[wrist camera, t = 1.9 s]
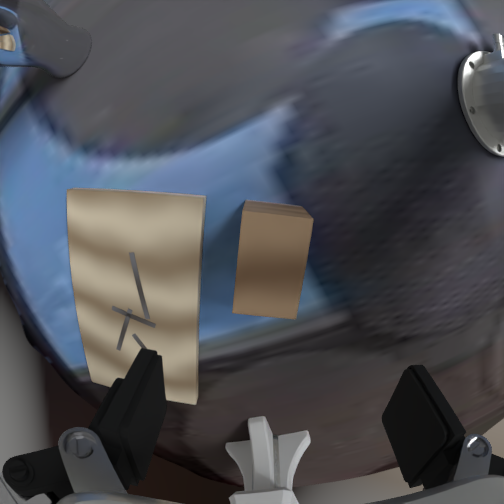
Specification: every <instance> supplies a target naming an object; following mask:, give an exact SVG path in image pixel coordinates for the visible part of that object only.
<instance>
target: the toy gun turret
mask: <svg viewBox="0 0 504 504" xmlns="http://www.w3.org/2000/svg"><path fill="white" fill-rule="evenodd" d="M248 429H249V435H250V440H247V441H239V442H230V443H226V446H225V448H226V450H227V452H228V453H229V455H230V456H231V457H232V458H233V459H234V460H235V462H236V463H237V464H238V466H239V468H240V471H241V473H242V475H243V479H244V487H245V491H239V492H236V493H234V494H233V495H232V496H231V497H229V500H230V503H231V504H299V503H298V501H297V499H296V497H295V495H294V493H293V492H292V482H293V476H294V473H295V470H296V467H297V465H298V463H299V460H300V458H301V456H302V455H303V453H304V451H305V450H306V448H307V447H308V446H309V444H310V442H311V441H310V436H309V432H308V431H307V430H305V431H300V432H296V433H290V434H285V435H280V436H277V435H273V434H272V432H271V429H270V427H269V425H268V422H267V420H266V417H264V416H260V417H254V418H249V419H248Z"/></svg>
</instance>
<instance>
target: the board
mask: <svg viewBox="0 0 504 504" xmlns="http://www.w3.org/2000/svg"><path fill="white" fill-rule="evenodd" d="M205 208H206V196H204V195H192V194H180V193H167V192H153V191H137V190H119V189H96V188H72V189H67V224H68V242H69V255H70V266H71V275H72V283H73V291H74V298H75V305H76V311H77V317H78V322H79V328H80V333H81V338H82V343H83V347H84V352H85V356H86V360H87V364H88V368H89V372H90V376H91V380H92V382H95V383H98V384H102V385H105V386H109V387H111V386H112V384H113V382H114V381H115V380H116V378H123V379H124V378H125V376H126V374H127V372H128V370H129V369H130V367H131V365H132V363H133V361H134V360H135V358H136V356H137V354H138V352H139V351H140V349H141V348H145V349H151V350H156V351H157V354H158V355H161V356H162V362H163V373H164V384H165V394H166V400H170V401H176V402H181V403H187V404H193V405H196V403H197V399H198V350H199V314H200V289H201V269H202V251H203V235H204V221H205Z"/></svg>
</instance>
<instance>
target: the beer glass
mask: <svg viewBox="0 0 504 504" xmlns="http://www.w3.org/2000/svg"><path fill="white" fill-rule="evenodd" d="M91 44H92V40H91V35H90V33H89V32H88V31H87V30H86V29H84V28H81V27H77V26H73V25H70V24H68V23H66V22H65V21H64V20H62V19H61V18H60V17H59V16H58V14H57V13H56V12H55V11H54V10H53V9H52V8H51V7H50V6H49V5H48V4H47V3H46V2H45V1H44V0H0V67H35V68H39V69H42V70H44V71H45V72H47V73H48V74H50V75H51V76H53V77H56V78H64V77H67V76H69V75H71V74H73V73H74V72H76V71H77V70H78V69H79V68H80V67H81V66H82V64H83V63H84V62H85V60H86V59H87V57H88V55H89V52H90V49H91Z"/></svg>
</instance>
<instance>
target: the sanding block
mask: <svg viewBox="0 0 504 504" xmlns="http://www.w3.org/2000/svg"><path fill="white" fill-rule="evenodd" d="M313 220H314V219H313V218H312V217H311V216H310V215H309V214H308V212H307V211H306V210H305V209H304V208H303V207H302V206H296V205H289V204H281V203H272V202H264V201H255V200H245V204H244V207H243V210H242V220H241V229H240V239H239V249H238V259H237V269H236V280H235V290H234V300H233V311H232V313H236V314H245V315H255V316H265V317H276V318H287V319H296V316H297V311H298V306H299V300H300V295H301V290H302V285H303V279H304V274H305V268H306V262H307V257H308V251H309V245H310V239H311V233H312V226H313Z"/></svg>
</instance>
